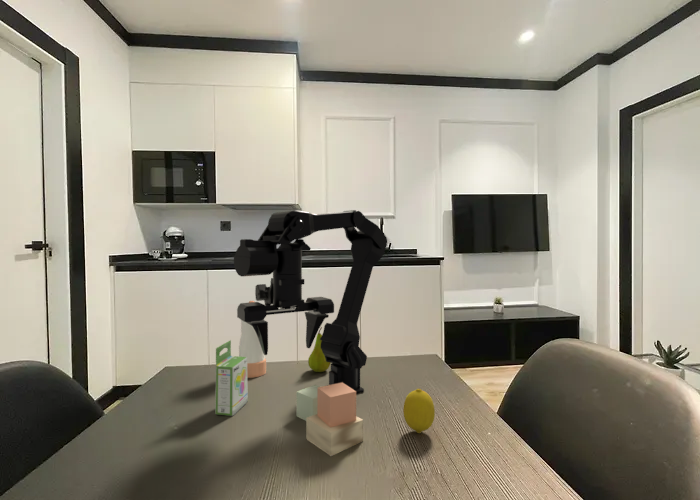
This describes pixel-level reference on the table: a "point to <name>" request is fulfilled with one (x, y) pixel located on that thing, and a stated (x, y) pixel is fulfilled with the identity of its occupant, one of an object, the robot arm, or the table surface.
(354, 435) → the maple base
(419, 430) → the lemon
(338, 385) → the terracotta cube
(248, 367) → the pepper shaker
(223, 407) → the ink box
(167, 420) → the table surface
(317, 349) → the fruit
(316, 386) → the sage cube
